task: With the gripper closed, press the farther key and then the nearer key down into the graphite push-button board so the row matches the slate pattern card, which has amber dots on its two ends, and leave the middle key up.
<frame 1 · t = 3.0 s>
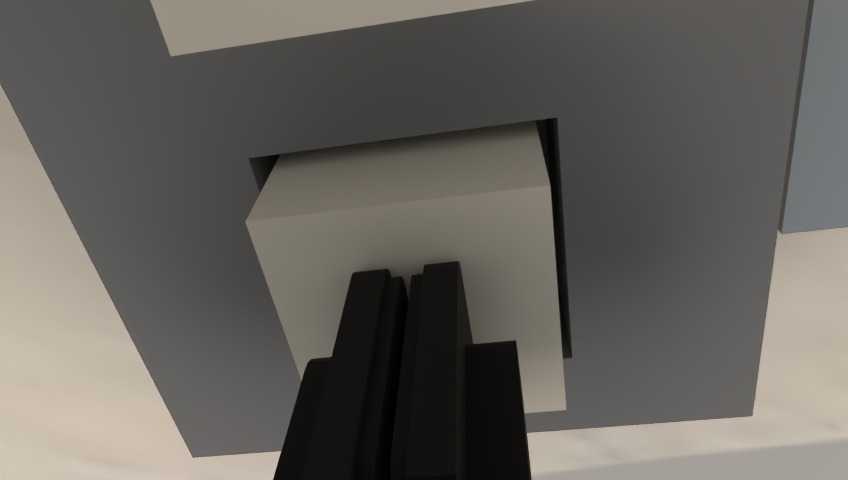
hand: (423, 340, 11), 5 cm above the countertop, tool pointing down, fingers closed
key 1: (423, 269, 12), point 3 cm above the countertop, slide at 0.4 cm, touching gripper
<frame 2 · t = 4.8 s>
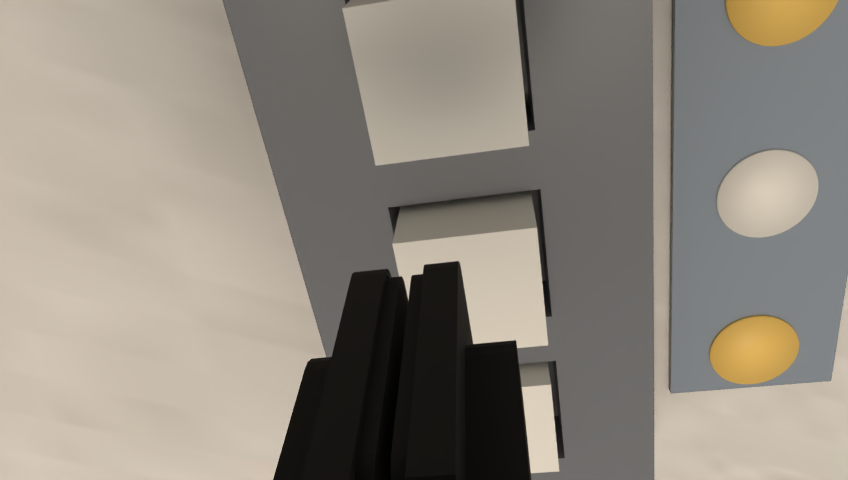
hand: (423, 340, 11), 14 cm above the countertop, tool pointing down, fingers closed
pattern card: (762, 190, 24), on the countertop
button board: (473, 223, 26), on the countertop
key 2: (441, 65, 19), point 3 cm above the countertop, slide at 0.0 cm
key middle: (472, 271, 23), point 4 cm above the countertop, slide at 0.0 cm
key 1: (495, 406, 27), point 2 cm above the countertop, slide at 1.1 cm
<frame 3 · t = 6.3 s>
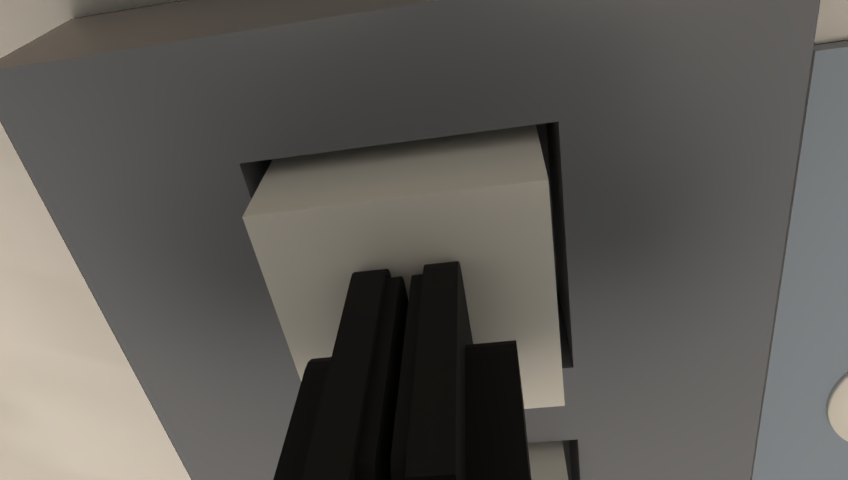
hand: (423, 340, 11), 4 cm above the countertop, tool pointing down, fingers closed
button board: (469, 420, 18), on the countertop
key 2: (421, 264, 12), point 3 cm above the countertop, slide at 0.8 cm
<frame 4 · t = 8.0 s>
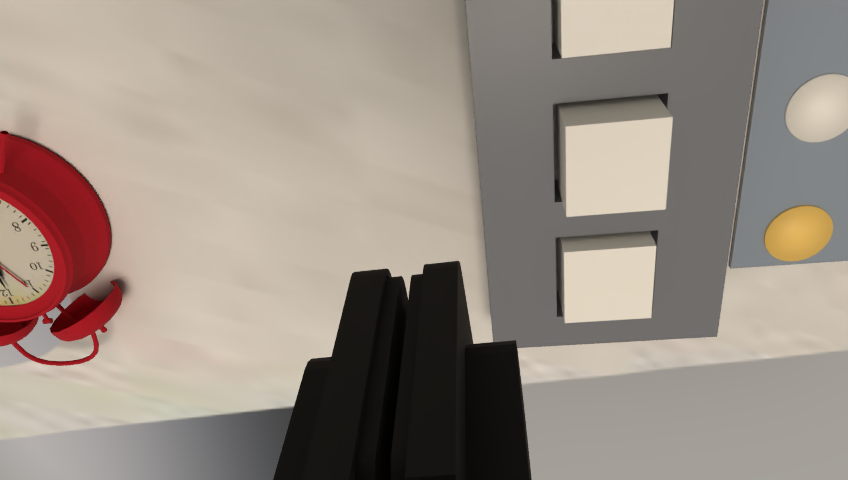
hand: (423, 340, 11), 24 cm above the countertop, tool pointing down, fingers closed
pattern card: (819, 105, 33), on the countertop
alarm clock: (36, 238, 39), on the countertop
button board: (597, 125, 34), on the countertop
key middle: (610, 155, 31), point 3 cm above the countertop, slide at 0.0 cm
key 1: (603, 269, 35), point 2 cm above the countertop, slide at 1.1 cm
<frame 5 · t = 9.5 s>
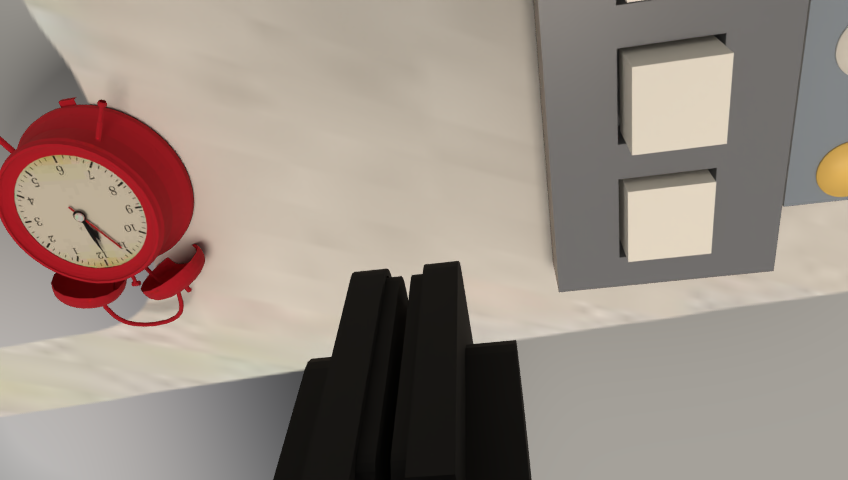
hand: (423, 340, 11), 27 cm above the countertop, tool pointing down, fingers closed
alarm clock: (122, 206, 42), on the countertop
button board: (654, 71, 36), on the countertop
key middle: (672, 95, 33), point 3 cm above the countertop, slide at 0.0 cm
key 1: (663, 209, 37), point 2 cm above the countertop, slide at 1.1 cm
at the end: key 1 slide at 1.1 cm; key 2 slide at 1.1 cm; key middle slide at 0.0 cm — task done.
